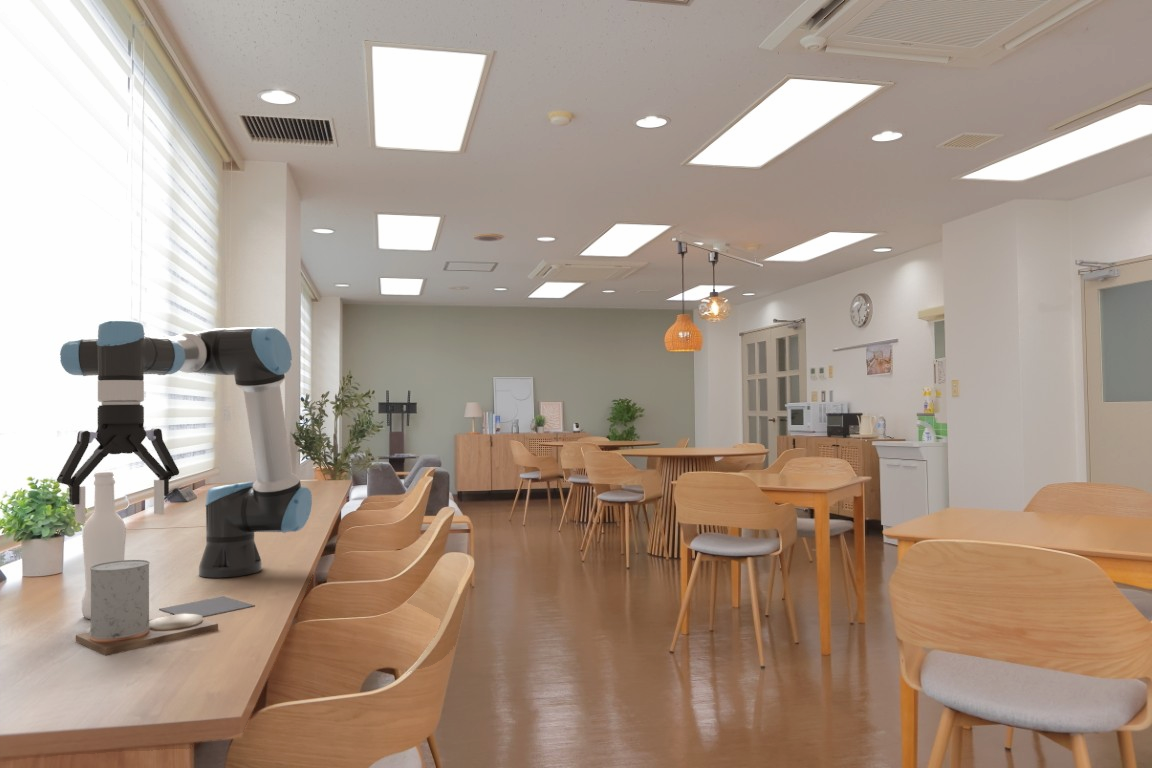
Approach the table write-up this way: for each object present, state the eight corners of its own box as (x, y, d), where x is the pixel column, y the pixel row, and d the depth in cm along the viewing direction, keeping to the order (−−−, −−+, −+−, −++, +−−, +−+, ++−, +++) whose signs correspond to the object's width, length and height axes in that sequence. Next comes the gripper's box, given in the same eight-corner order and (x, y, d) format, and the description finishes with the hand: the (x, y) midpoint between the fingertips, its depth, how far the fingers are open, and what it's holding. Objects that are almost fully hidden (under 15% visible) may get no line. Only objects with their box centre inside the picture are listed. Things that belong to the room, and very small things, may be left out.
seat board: (184, 618, 164) (185, 609, 164) (218, 629, 155) (218, 620, 155) (75, 641, 149) (75, 631, 149) (105, 655, 140) (105, 645, 140)
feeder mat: (223, 597, 182) (223, 596, 182) (254, 606, 173) (254, 605, 173) (159, 609, 172) (159, 608, 172) (189, 620, 163) (189, 619, 163)
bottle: (135, 611, 170) (135, 470, 171) (101, 621, 163) (101, 473, 164) (106, 608, 173) (106, 469, 174) (72, 618, 165) (72, 472, 166)
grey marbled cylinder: (123, 640, 142) (123, 570, 143) (77, 638, 144) (77, 569, 145) (161, 625, 152) (161, 560, 152) (117, 623, 154) (117, 559, 154)
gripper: (180, 403, 161) (180, 509, 161) (36, 404, 142) (36, 524, 142) (197, 403, 157) (197, 512, 156) (51, 404, 137) (51, 528, 137)
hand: (120, 518), depth 149 cm, fingers open, 13 cm apart
